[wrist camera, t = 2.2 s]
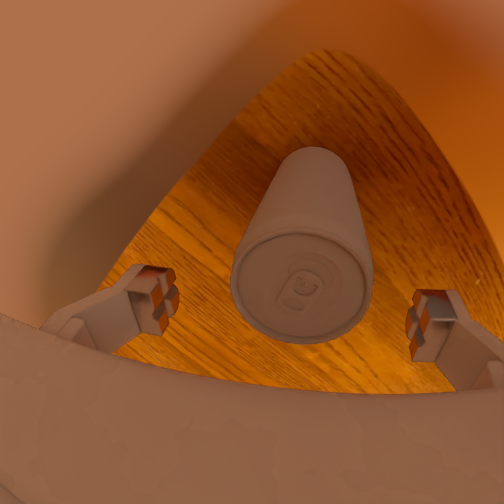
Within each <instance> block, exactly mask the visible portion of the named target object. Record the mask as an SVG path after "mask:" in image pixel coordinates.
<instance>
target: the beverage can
mask: <svg viewBox="0 0 504 504" xmlns="http://www.w3.org/2000/svg"><path fill="white" fill-rule="evenodd" d="M373 281H374V277H373V264H372V258H371V254H370V249H369V245H368V240H367V236H366V232H365V228H364V224H363V220H362V216H361V212H360V208H359V205H358V201H357V197H356V194H355V190H354V187H353V183H352V180H351V176H350V173H349V171H348V169H347V167H346V164H345V163H344V162H343V161H342V160H341V158H340V157H339V156H337V155H336V154H334V153H333V152H332V151H330V150H327V149H324V148H321V147H311V146H310V147H305V148H300V149H298V150H296V151H294V152H292V153H290V154H289V155H288V156H287V157H286V158H285V159H284V160H283V162H282V164H281V165H280V167H279V169H278V171H277V172H276V174H275V176H274V178H273V180H272V182H271V184H270V186H269V188H268V190H267V192H266V193H265V195H264V197H263V199H262V201H261V203H260V205H259V207H258V208H257V210H256V212H255V214H254V216H253V218H252V220H251V222H250V224H249V226H248V227H247V229H246V231H245V233H244V235H243V237H242V239H241V241H240V243H239V245H238V247H237V249H236V252H235V256H234V260H233V264H232V272H231V276H230V290H231V296H232V298H233V301H234V304H235V306H236V308H237V310H238V311H239V312H240V314H241V315H242V317H243V318H244V319H245V320H246V321H247V322H248V323H249V324H250V325H251V326H253V327H254V328H255V329H256V330H258V331H259V332H261V333H263V334H265V335H267V336H269V337H270V338H273V339H276V340H280V341H283V342H286V343H294V344H302V345H304V344H318V343H322V342H326V341H330V340H333V339H336V338H338V337H340V336H341V335H343V334H345V333H347V332H349V331H350V330H351V329H352V328H353V327H354V326H356V325H357V324H358V323H359V322H360V321H361V319H362V318H363V316H364V314H365V313H366V311H367V310H368V307H369V304H370V300H371V296H372V285H373Z"/></svg>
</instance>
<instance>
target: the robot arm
mask: <svg viewBox="0 0 504 504" xmlns="http://www.w3.org/2000/svg"><path fill="white" fill-rule="evenodd" d="M175 280H176V276H175V271H174V270H173V269H172V268H166V267H159V266H151V265H144V264H133V265H132V266H131V267H130V268H129V269H128V270H127V271H126V272H125V273H124V274H123V276H122V277H121V278H120V279H119V280H118V281H117V282H116V283H115V284H114V285H113V287H112V288H109V287H108V288H105V289H103V290H101V291H98V292H96V293H94V294H92V295H89V296H87V297H85V298H83V299H80V300H78V301H76V302H74V303H71V304H69V305H67V306H65V307H62V308H60V309H58V310H56V311H55V312H54V313H53V314H52V315H51V316H50V317H49V318H48V319H47V320H46V322H45V323H44V324H43V325H42V326H41V327H40V328H39V329H37V328H35V327H32V326H29V325H27V324H25V323H22V322H20V321H18V320H15V319H13V318H10V317H8V316H6V315H4V314H2V313H0V504H504V343H503V342H502V341H501V340H500V339H498V338H497V337H496V336H495V335H493V334H492V333H491V332H490V331H488V330H487V329H486V328H484V327H483V326H482V325H481V324H479V323H478V322H477V321H472V319H471V317H470V315H469V313H468V311H467V309H466V307H465V305H464V303H463V301H462V299H461V297H460V295H459V293H458V291H456V290H429V289H416V291H415V292H414V295H413V298H412V300H413V304H414V306H412V307H411V308H410V309H409V310H408V313H407V317H406V323H405V331H406V336H407V338H408V339H409V340H410V341H411V343H410V345H409V349H410V354H411V358H412V362H435V365H436V366H437V367H438V368H439V369H440V371H441V372H442V373H443V374H444V376H445V377H446V378H447V379H448V381H449V382H450V383H451V384H452V386H453V387H454V388H455V389H456V391H455V392H441V393H421V394H358V393H337V392H322V391H309V390H298V389H288V388H279V387H271V386H263V385H255V384H248V383H241V382H235V381H229V380H223V379H217V378H212V377H206V376H201V375H196V374H191V373H186V372H181V371H177V370H172V369H168V368H164V367H159V366H155V365H151V364H147V363H143V362H139V361H136V360H132V359H128V358H124V357H121V356H117V355H114V354H111V353H113V352H114V351H116V350H117V349H119V348H120V347H121V346H123V345H124V344H126V343H127V342H129V341H130V340H132V339H133V338H135V337H136V336H138V335H139V334H140V332H142V333H148V334H153V335H159V336H162V335H163V333H164V332H165V330H166V328H167V327H168V325H169V319H168V318H170V317H171V316H173V315H175V313H176V311H177V309H178V305H179V291H178V288H177V287H176V286H175V285H174V284H173V283H174V282H175Z"/></svg>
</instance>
